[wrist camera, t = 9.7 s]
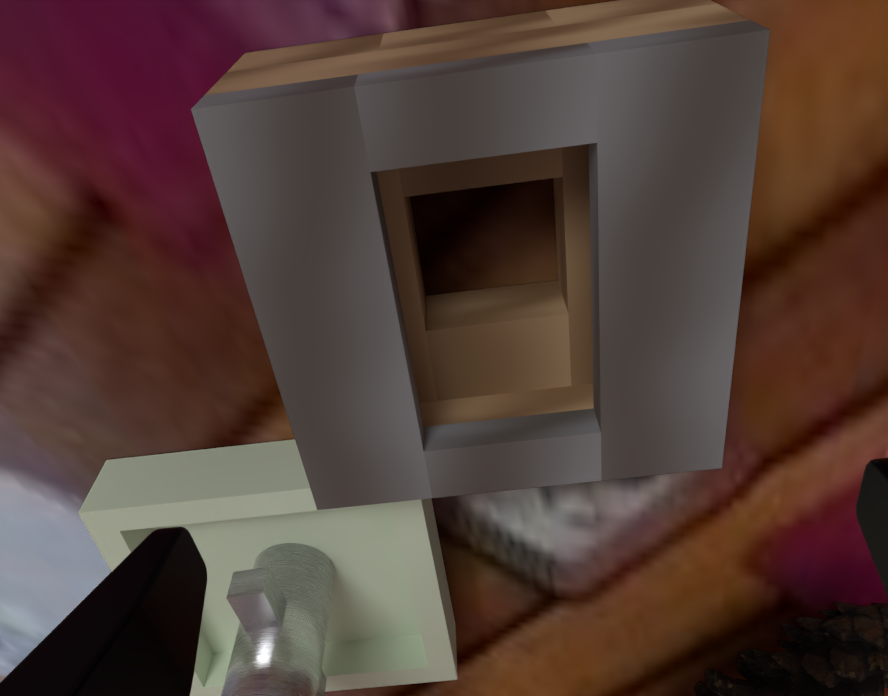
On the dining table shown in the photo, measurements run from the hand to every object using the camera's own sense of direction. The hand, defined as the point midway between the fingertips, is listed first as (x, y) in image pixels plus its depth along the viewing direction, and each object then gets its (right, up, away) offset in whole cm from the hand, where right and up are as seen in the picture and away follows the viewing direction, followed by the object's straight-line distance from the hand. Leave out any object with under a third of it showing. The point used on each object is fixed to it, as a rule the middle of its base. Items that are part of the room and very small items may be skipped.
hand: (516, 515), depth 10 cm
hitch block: (0, +6, +11) cm, 13 cm away
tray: (-7, -6, +19) cm, 21 cm away
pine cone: (+18, -5, +22) cm, 29 cm away
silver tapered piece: (-7, -6, +18) cm, 20 cm away
